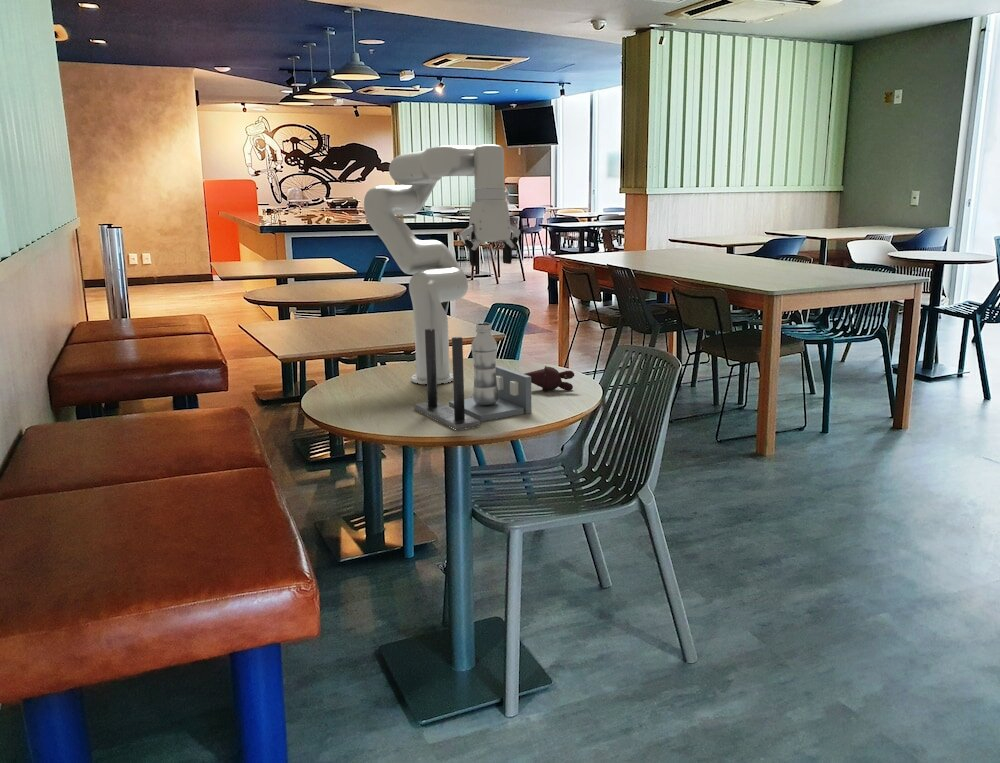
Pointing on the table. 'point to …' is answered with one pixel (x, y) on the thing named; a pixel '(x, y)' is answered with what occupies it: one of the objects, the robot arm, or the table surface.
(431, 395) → the cord gate
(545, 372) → the dark brown rounded figure
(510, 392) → the switch board
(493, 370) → the silver bottle
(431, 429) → the table surface
